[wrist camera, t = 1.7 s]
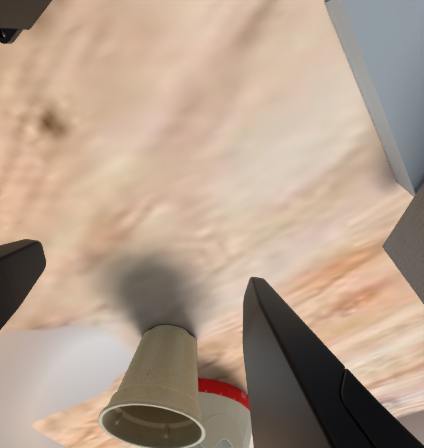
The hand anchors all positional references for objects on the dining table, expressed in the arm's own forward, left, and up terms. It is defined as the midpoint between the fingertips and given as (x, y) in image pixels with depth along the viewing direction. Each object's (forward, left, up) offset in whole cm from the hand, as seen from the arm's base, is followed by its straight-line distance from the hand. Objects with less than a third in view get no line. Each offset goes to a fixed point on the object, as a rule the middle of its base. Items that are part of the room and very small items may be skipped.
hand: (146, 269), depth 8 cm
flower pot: (+16, -16, -12) cm, 26 cm away
